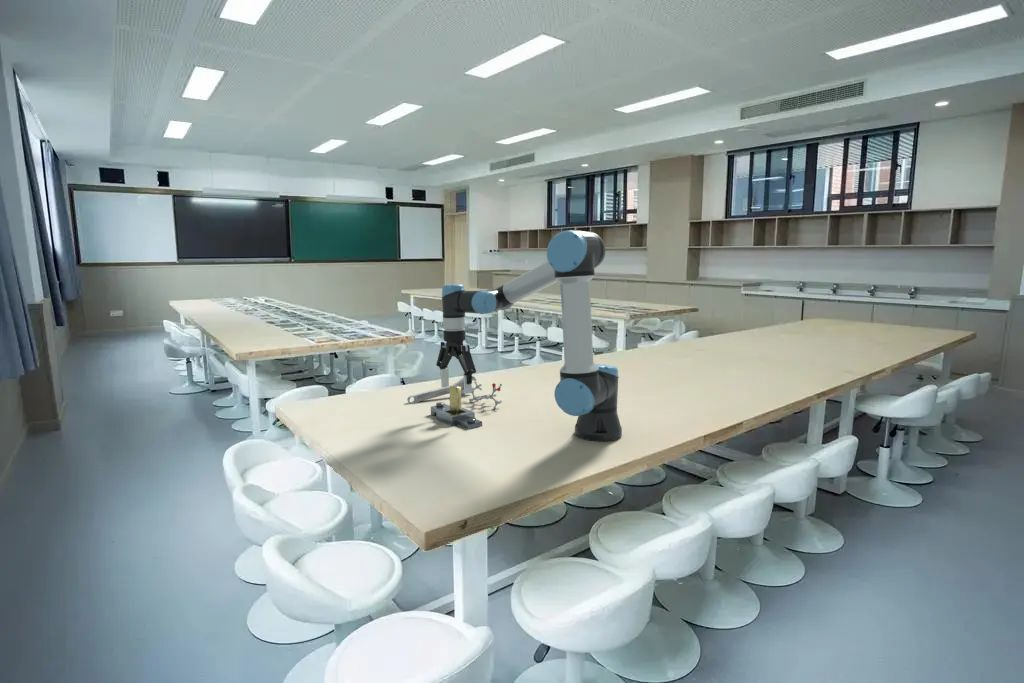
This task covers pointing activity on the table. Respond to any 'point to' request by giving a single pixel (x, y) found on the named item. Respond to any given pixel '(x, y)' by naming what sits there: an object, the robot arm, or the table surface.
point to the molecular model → (486, 395)
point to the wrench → (437, 392)
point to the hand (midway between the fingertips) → (456, 389)
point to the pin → (455, 400)
